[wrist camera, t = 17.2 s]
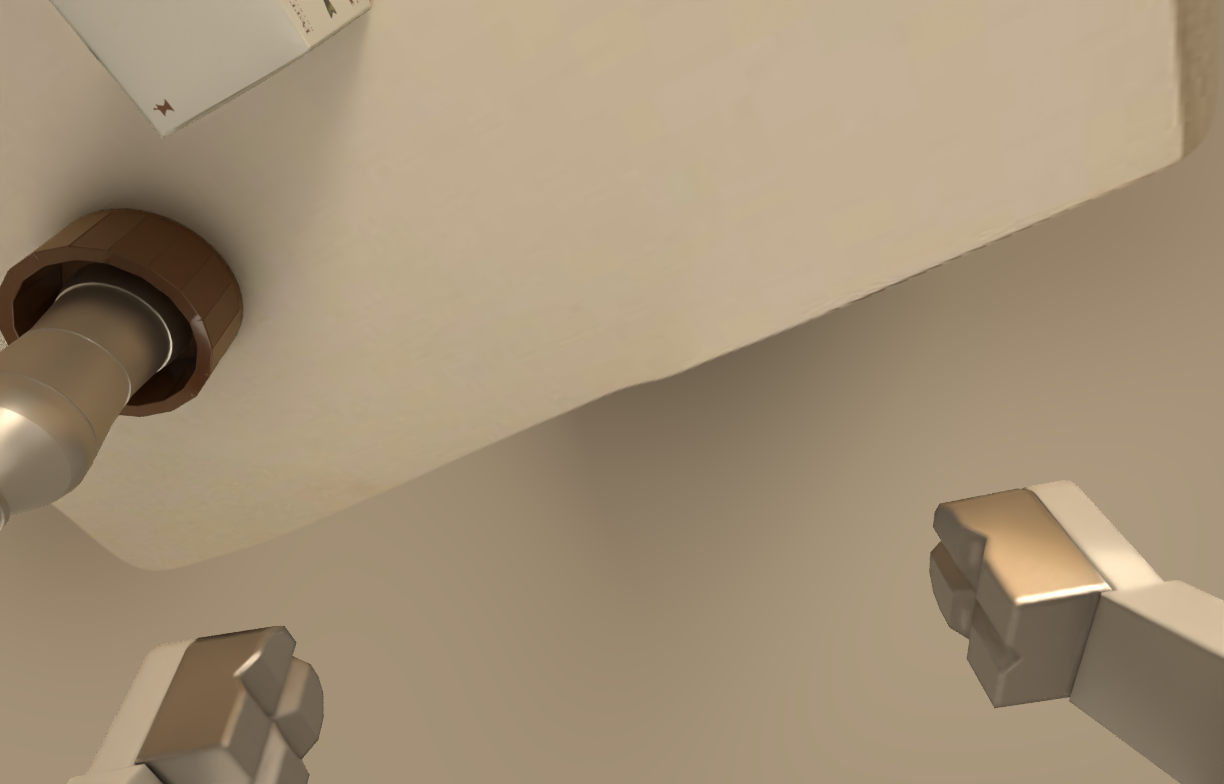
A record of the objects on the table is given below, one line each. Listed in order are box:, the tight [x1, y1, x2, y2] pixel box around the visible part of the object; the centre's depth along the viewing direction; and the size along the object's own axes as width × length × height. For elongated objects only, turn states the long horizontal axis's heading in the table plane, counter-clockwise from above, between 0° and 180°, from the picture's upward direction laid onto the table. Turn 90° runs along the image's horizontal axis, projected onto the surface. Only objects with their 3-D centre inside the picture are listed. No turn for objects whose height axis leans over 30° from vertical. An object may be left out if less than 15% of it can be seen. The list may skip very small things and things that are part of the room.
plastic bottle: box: [0, 262, 193, 531], centre depth 37 cm, size 6×7×20 cm
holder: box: [0, 209, 243, 417], centre depth 44 cm, size 11×11×6 cm
